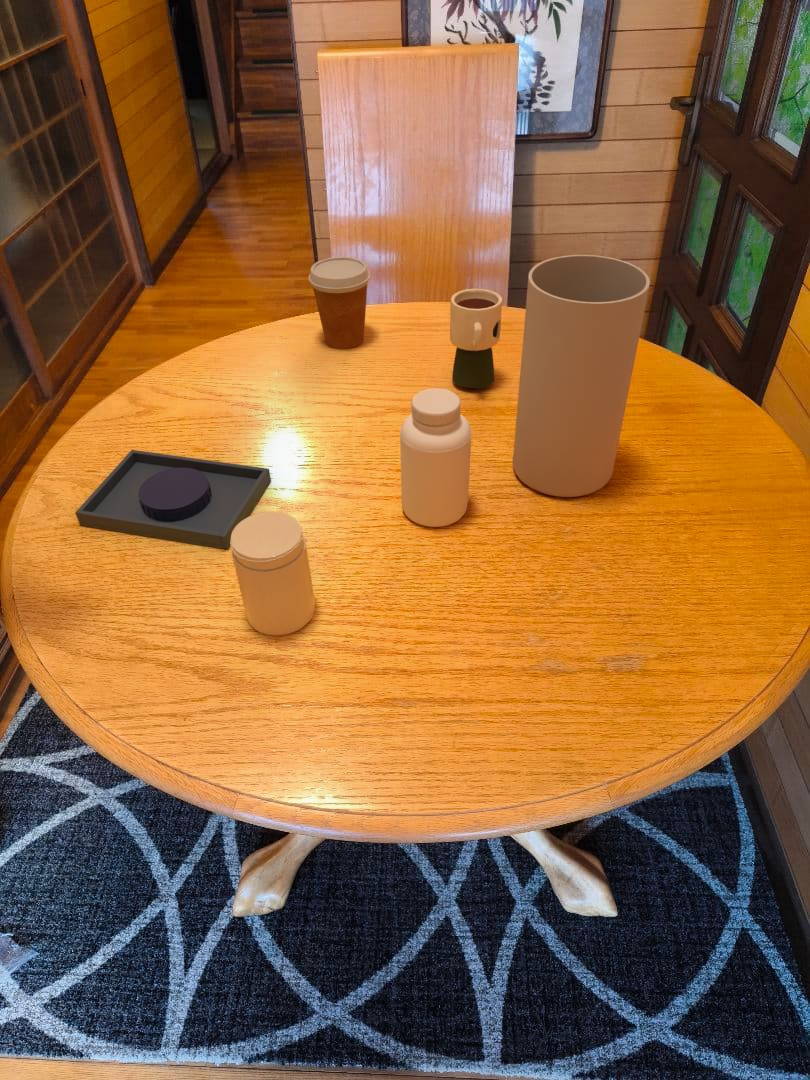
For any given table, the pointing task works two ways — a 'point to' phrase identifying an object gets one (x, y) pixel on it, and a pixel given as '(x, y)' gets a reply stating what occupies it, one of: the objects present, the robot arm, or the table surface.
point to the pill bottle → (435, 459)
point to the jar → (273, 572)
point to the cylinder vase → (576, 371)
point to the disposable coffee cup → (341, 299)
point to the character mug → (474, 335)
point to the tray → (210, 527)
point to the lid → (175, 494)
